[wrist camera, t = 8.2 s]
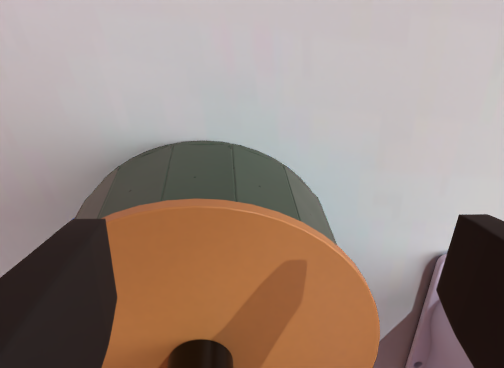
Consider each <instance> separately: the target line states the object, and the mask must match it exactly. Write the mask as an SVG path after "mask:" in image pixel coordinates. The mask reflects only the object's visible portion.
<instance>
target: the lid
mask: <svg viewBox="0 0 504 368" xmlns="http://www.w3.org/2000/svg"><path fill="white" fill-rule="evenodd" d="M101 219H106V226H107V232H108V239H109V245H110V252H111V258H112V265H113V272H114V278H115V285H116V291H117V303H116V309H115V315H114V321H113V326H112V331H111V336H110V341H109V346H108V349H107V352H106V356H105V359H104V362H103V365H102V368H373V366H374V363H375V360H376V357H377V353H378V346H379V340H380V326H379V317H378V312H377V308H376V303H375V301H374V299H373V296H372V294H371V292H370V289H369V287H368V285H367V283H366V280H365V279H364V277H363V276H362V274H361V272H360V271H359V269H358V268H357V266H356V265H355V263H354V262H353V261H352V260H351V259H350V258H349V257H348V256H347V255H346V254H345V253H344V251H343V250H342V249H341V248H340V247H338V246H337V245H336V244H335V243H333V242H332V241H331V240H330V239H328V238H327V237H326V236H325V235H323V234H322V233H320V232H318V231H317V230H315V229H313V228H311V227H310V226H308V225H306V224H305V223H303V222H301V221H299V220H296V219H294V218H292V217H289V216H287V215H285V214H282V213H280V212H277V211H274V210H270V209H267V208H263V207H260V206H256V205H253V204H247V203H241V202H234V201H228V200H216V199H181V200H167V201H161V202H155V203H150V204H144V205H139V206H136V207H132V208H129V209H126V210H122V211H119V212H116V213H113V214H110V215H108V216H106V217H103V218H101Z"/></svg>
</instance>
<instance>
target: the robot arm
mask: <svg viewBox="0 0 504 368" xmlns="http://www.w3.org/2000/svg"><path fill="white" fill-rule="evenodd" d="M116 303H117V291H116V285H115V278H114V272H113V265H112V258H111V252H110V245H109V239H108V232H107V226H106V219H73V220H71V221H70V222H69V223H67V224H66V225H65V226H63V227H62V228H61V229H60V230H58V231H57V232H56V233H55V234H54V235H52V236H51V237H50V238H49V239H47V240H46V241H45V242H44V243H43V244H41V245H40V246H39V247H38V248H37V249H35V250H34V251H33V252H32V253H31V254H29V255H28V256H27V257H26V258H24V259H23V260H22V261H21V262H19V263H18V264H17V265H16V266H14V267H13V268H12V269H11V270H9V271H8V272H7V273H6V274H4V275H3V276H2V277H1V278H0V368H102V365H103V362H104V359H105V356H106V352H107V349H108V346H109V341H110V336H111V331H112V326H113V321H114V315H115V309H116ZM405 368H504V221H502V220H500V219H497V218H495V217H492V216H490V215H487V214H483V215H459V217H458V220H457V223H456V227H455V230H454V233H453V236H452V240H451V243H450V246H449V249H448V253H447V254H444V255H442V256H441V257H440V258H439V259H438V260H437V263H436V266H435V269H434V273H433V276H432V279H431V283H430V286H429V290H428V293H427V296H426V300H425V303H424V306H423V310H422V313H421V316H420V320H419V323H418V327H417V330H416V333H415V337H414V340H413V343H412V347H411V350H410V353H409V357H408V360H407V364H406V367H405Z"/></svg>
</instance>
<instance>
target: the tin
mask: <svg viewBox="0 0 504 368" xmlns="http://www.w3.org/2000/svg"><path fill="white" fill-rule="evenodd" d="M181 199H216V200H228V201H234V202H241V203H247V204H253V205H256V206H260V207H263V208H267V209H270V210H274V211H277V212H280V213H282V214H285V215H287V216H289V217H292V218H294V219H296V220H299V221H301V222H303V223H305V224H306V225H308V226H310V227H311V228H313V229H315V230H317V231H318V232H320V233H322V234H323V235H325V236H326V237H327V238H328V239H330V240H331V241H332V242H333V243H335V244H336V241H335V239H334V236H333V234H332V231H331V229H330V226H329V224H328V221H327V219H326V216H325V214H324V211H323V209H322V206H321V204H320V201H319V199H318V197H317V196H316V195H315V194H314V193H312V191H311V190H310V188H309V187H308V186H307V185H306V184H305V183H304V182H303V180H302V179H301V178H300V177H299V176H297V175H296V174H295V173H294V172H293V171H292V170H290V169H289V168H288V167H287V166H285V165H283V164H282V163H280V162H279V161H277V160H275V159H274V158H272V157H270V156H268V155H265V154H263V153H261V152H259V151H256V150H253V149H250V148H247V147H244V146H241V145H236V144H230V143H225V142H215V141H191V142H181V143H175V144H170V145H165V146H162V147H158V148H155V149H152V150H149V151H146V152H144V153H142V154H140V155H138V156H136V157H133V158H131V159H130V160H128V161H127V162H125V163H124V164H122V165H120V166H119V167H117V168H116V169H115V170H114V171H113V172H111V173H110V174H109V175H108V176H107V177H106V178H104V180H103V181H102V182H101V183H100V184H99V185H98V187H97V188H96V189H95V190H94V191H93V193H92V194H91V195H90V196H89V197H88V198H87V199H86V200H85V201H84V203H83V205H82V207H81V209H80V211H79V213H78V215H77V217H76V219H101V218H103V217H106V216H108V215H110V214H113V213H116V212H119V211H122V210H126V209H129V208H132V207H136V206H139V205H144V204H150V203H155V202H161V201H167V200H181ZM336 245H337V244H336Z"/></svg>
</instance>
